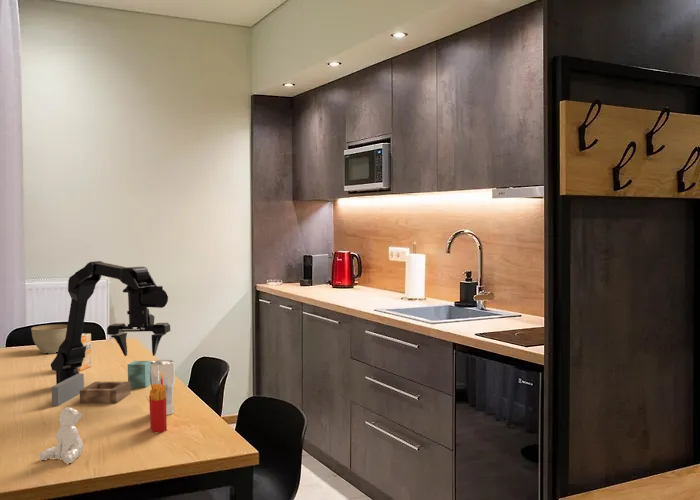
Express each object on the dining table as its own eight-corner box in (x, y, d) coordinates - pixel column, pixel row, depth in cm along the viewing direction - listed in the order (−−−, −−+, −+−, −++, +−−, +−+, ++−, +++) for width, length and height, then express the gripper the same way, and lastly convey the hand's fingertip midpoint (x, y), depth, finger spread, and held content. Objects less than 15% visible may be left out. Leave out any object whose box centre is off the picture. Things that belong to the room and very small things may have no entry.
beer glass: (180, 410, 208) (178, 360, 208) (166, 417, 202) (165, 365, 201) (160, 408, 211) (158, 359, 210) (146, 415, 204) (144, 363, 203)
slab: (52, 406, 215) (51, 386, 215) (78, 391, 233) (77, 373, 233) (58, 406, 215) (57, 386, 215) (84, 391, 233) (83, 373, 233)
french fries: (149, 426, 193) (147, 382, 193) (163, 424, 195) (162, 381, 194) (153, 434, 185) (152, 389, 185) (168, 432, 187) (167, 388, 186)
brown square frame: (80, 403, 218) (79, 390, 218) (95, 393, 230) (95, 381, 230) (116, 403, 217) (116, 390, 217) (130, 393, 229) (130, 381, 229)
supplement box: (80, 371, 265) (79, 336, 264) (68, 371, 266) (67, 336, 265) (92, 366, 273) (91, 333, 272) (81, 366, 274) (80, 332, 273)
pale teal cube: (128, 388, 237) (127, 364, 237) (134, 383, 243) (134, 360, 243) (145, 388, 237) (145, 364, 237) (151, 383, 243) (151, 360, 243)
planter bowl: (63, 355, 297) (62, 329, 296) (25, 355, 297) (24, 330, 296) (78, 348, 313) (77, 323, 312) (42, 348, 313) (41, 324, 312)
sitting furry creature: (37, 461, 167) (35, 410, 166) (64, 449, 175) (62, 401, 174) (69, 465, 163) (67, 414, 163) (94, 453, 171) (93, 404, 171)
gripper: (175, 303, 230) (176, 350, 231) (119, 304, 231) (121, 351, 232) (163, 307, 219) (165, 357, 220) (105, 308, 220) (107, 358, 221)
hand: (139, 355), depth 223 cm, fingers open, 9 cm apart
